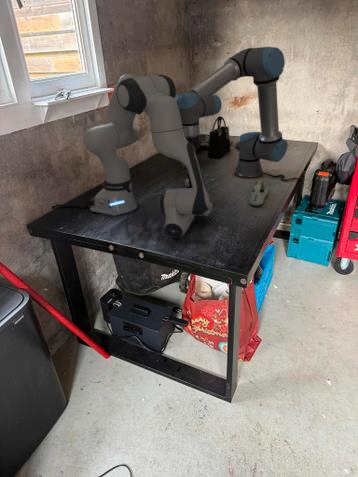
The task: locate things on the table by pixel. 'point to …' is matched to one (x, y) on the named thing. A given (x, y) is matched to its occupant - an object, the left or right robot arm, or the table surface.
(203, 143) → the pair of gloves
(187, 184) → the lid
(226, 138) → the handbag
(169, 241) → the table surface
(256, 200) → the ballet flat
